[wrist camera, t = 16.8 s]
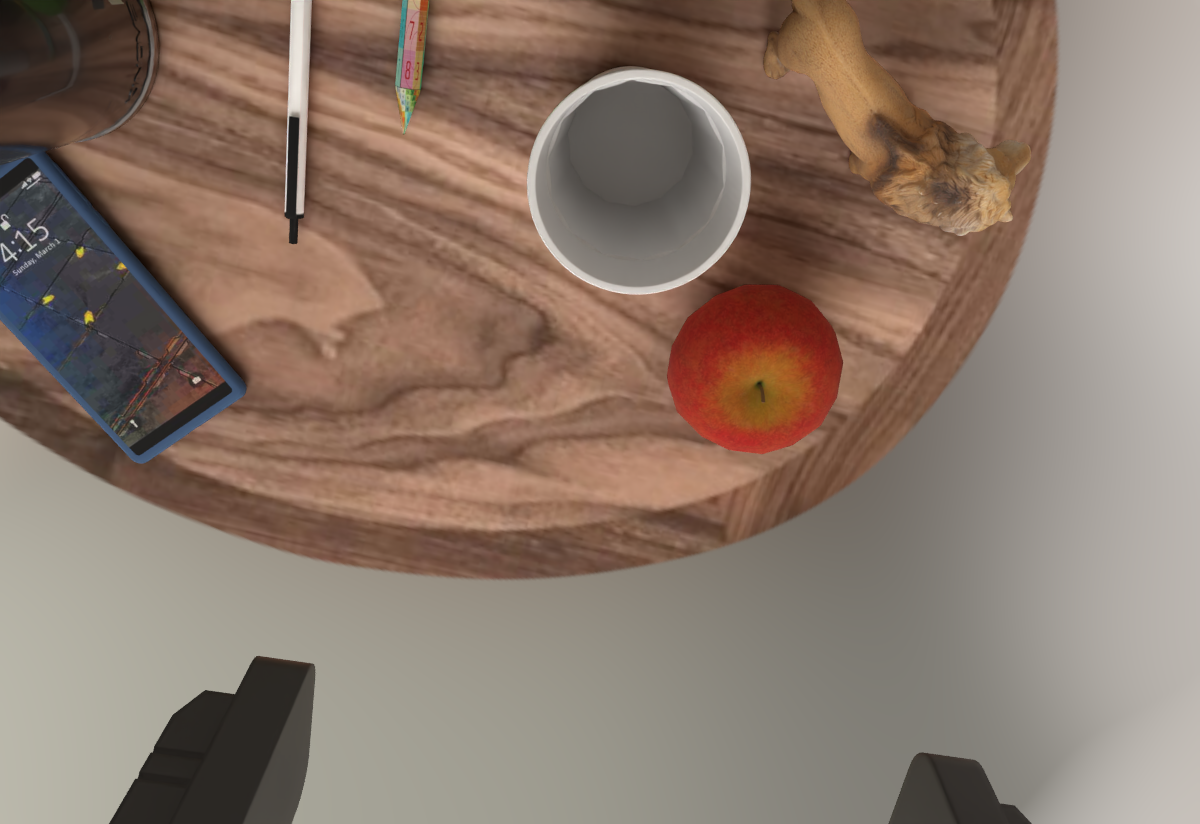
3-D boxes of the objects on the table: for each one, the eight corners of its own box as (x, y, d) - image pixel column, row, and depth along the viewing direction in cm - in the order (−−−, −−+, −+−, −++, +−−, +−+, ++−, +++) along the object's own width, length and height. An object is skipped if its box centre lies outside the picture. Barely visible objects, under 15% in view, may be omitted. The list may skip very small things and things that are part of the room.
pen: (286, 239, 50) (279, 244, 48) (300, -218, 42) (293, -223, 41) (305, 241, 50) (298, 247, 49) (322, -214, 42) (315, -219, 41)
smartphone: (137, 469, 54) (-88, 231, 49) (143, 462, 54) (-78, 227, 49) (249, 392, 52) (29, 139, 47) (254, 387, 53) (37, 136, 48)
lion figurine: (991, 141, 48) (1073, 175, 40) (908, 228, 50) (970, 279, 41) (759, -83, 44) (796, -96, 36) (677, 20, 46) (694, 29, 38)
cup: (592, 13, 46) (589, 25, 35) (747, 99, 47) (793, 136, 36) (514, 175, 49) (489, 234, 37) (664, 251, 50) (682, 330, 39)
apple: (835, 385, 53) (873, 450, 46) (687, 428, 54) (701, 498, 46) (800, 243, 50) (834, 287, 43) (644, 291, 51) (651, 343, 44)
